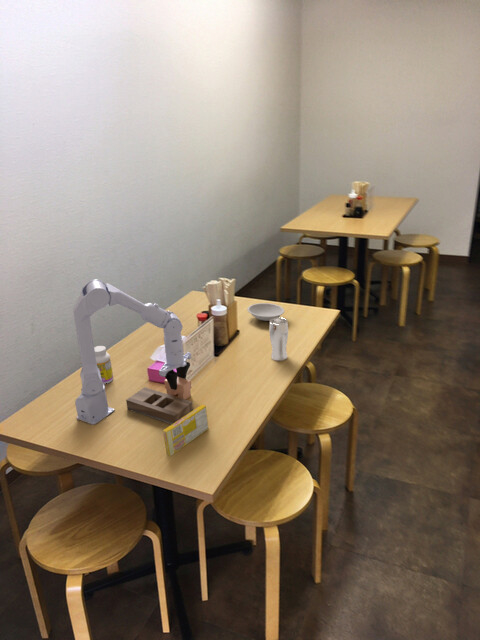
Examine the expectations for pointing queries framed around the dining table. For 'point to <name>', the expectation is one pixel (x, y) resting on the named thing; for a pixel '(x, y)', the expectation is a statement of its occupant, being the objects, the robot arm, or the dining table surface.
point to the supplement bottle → (104, 364)
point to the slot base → (159, 405)
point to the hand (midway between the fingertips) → (178, 385)
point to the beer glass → (278, 338)
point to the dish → (265, 311)
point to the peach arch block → (180, 388)
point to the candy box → (185, 430)
